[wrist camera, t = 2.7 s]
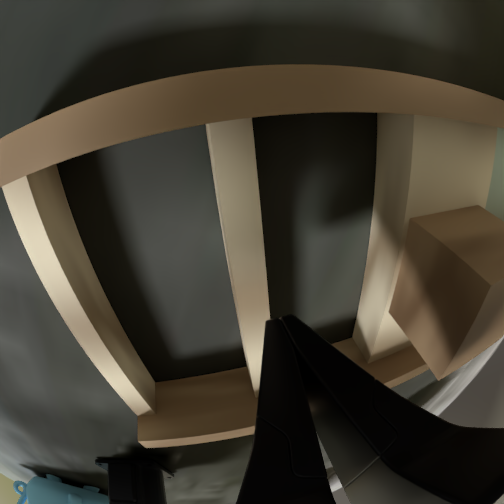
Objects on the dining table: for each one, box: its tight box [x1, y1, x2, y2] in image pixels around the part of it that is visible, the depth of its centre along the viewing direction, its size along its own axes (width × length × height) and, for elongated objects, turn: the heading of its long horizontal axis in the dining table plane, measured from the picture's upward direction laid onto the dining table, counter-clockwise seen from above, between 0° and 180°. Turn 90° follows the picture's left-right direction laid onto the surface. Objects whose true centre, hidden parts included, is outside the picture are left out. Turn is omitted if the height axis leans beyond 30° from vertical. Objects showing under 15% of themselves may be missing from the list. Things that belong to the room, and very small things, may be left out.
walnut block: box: [389, 205, 504, 381], centre depth 9 cm, size 4×4×4 cm
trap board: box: [0, 64, 504, 448], centre depth 10 cm, size 14×25×5 cm, turn 96°
